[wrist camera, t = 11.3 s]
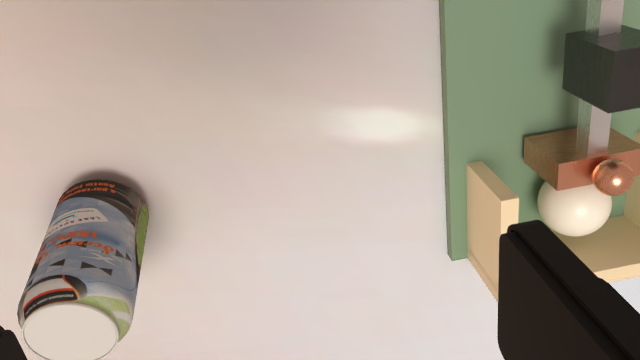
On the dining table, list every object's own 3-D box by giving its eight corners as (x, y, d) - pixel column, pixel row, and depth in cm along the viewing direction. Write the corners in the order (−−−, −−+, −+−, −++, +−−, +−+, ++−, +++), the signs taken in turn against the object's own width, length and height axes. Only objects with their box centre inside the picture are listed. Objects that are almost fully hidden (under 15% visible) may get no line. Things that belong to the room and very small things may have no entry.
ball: (554, 256, 40) (522, 215, 44) (619, 243, 41) (582, 204, 45) (563, 200, 37) (528, 162, 42) (633, 187, 38) (592, 150, 42)
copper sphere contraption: (530, -39, 35) (601, -27, 28) (621, -53, 35) (711, -45, 29) (523, 164, 41) (579, 213, 35) (600, 150, 42) (670, 195, 35)
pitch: (432, -203, 32) (481, -230, 25) (711, -241, 33) (823, -276, 27) (447, 254, 46) (481, 308, 40) (642, 216, 47) (705, 262, 41)
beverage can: (130, 159, 38) (90, 255, 28) (170, 244, 42) (148, 359, 31) (42, 185, 38) (-31, 292, 28) (89, 269, 42) (40, 392, 31)
